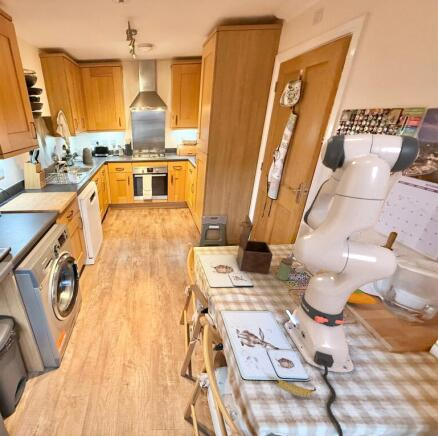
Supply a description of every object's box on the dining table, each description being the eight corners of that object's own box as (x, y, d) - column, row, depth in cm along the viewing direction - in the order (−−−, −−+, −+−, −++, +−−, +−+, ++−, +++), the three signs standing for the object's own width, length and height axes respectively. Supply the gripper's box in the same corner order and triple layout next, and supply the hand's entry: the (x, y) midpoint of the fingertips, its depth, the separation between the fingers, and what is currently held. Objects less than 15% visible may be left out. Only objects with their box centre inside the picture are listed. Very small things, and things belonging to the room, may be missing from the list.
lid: (248, 215, 121) (238, 213, 121) (253, 225, 109) (242, 223, 110) (240, 239, 127) (231, 237, 128) (244, 251, 116) (234, 249, 116)
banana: (276, 393, 68) (279, 384, 66) (274, 384, 70) (276, 376, 68) (314, 401, 65) (318, 393, 64) (311, 392, 68) (315, 384, 66)
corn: (319, 275, 104) (376, 287, 96) (314, 288, 107) (369, 300, 100) (322, 287, 98) (384, 300, 90) (317, 299, 101) (376, 313, 94)
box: (262, 260, 129) (266, 241, 124) (268, 273, 118) (272, 254, 113) (237, 257, 132) (239, 239, 127) (240, 270, 121) (243, 251, 116)
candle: (306, 261, 127) (319, 220, 117) (293, 261, 127) (305, 220, 117) (299, 254, 134) (310, 215, 123) (286, 254, 134) (297, 215, 124)
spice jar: (289, 281, 113) (294, 264, 108) (278, 279, 114) (282, 263, 109) (286, 274, 117) (290, 258, 113) (275, 273, 118) (279, 257, 114)
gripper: (336, 267, 97) (304, 282, 103) (313, 242, 116) (287, 257, 121) (327, 257, 96) (296, 273, 102) (306, 234, 114) (280, 249, 120)
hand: (291, 264), depth 112 cm, fingers open, 8 cm apart
